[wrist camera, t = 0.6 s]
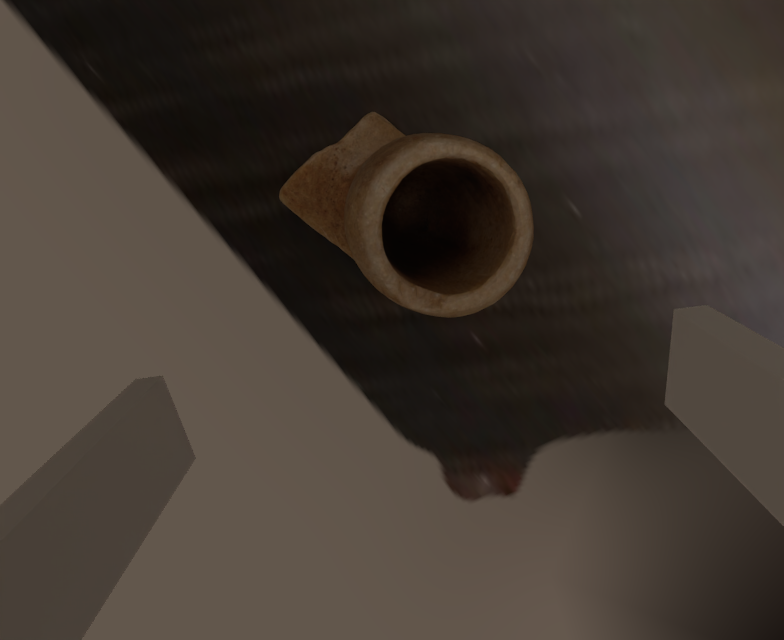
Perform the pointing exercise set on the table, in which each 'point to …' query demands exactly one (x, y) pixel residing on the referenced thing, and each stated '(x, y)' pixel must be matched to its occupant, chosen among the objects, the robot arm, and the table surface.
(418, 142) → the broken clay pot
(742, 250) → the table surface
